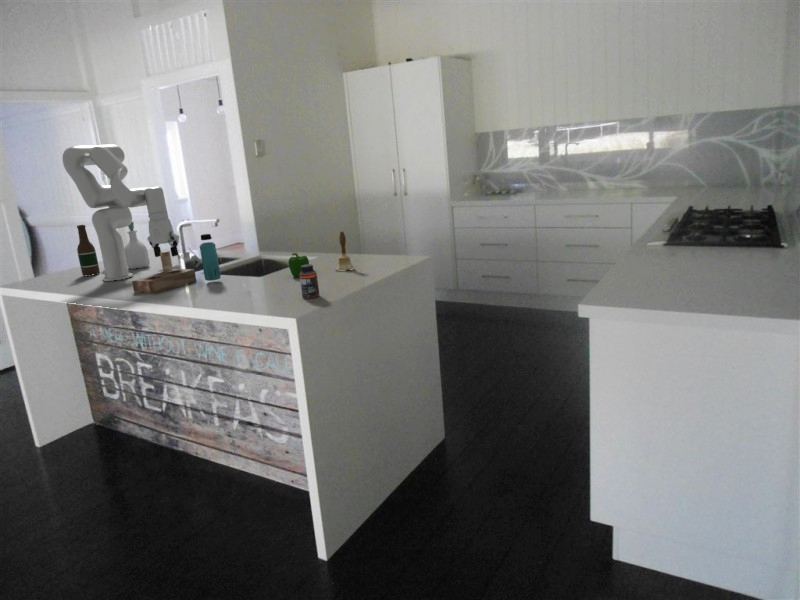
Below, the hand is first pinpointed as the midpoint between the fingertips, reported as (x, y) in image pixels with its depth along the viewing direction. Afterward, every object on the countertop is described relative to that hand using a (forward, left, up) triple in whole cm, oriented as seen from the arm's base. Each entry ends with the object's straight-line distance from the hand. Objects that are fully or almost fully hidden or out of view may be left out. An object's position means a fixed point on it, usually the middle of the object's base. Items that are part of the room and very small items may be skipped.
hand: (166, 256), depth 261 cm
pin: (-1, 0, -10) cm, 10 cm away
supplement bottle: (+85, -21, -10) cm, 88 cm away
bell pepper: (+60, +10, -10) cm, 62 cm away
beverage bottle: (+27, -4, -10) cm, 29 cm away
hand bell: (+74, +23, -10) cm, 78 cm away
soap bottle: (-43, +22, -10) cm, 49 cm away
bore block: (+10, -13, -10) cm, 19 cm away
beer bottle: (-56, +5, -10) cm, 57 cm away
